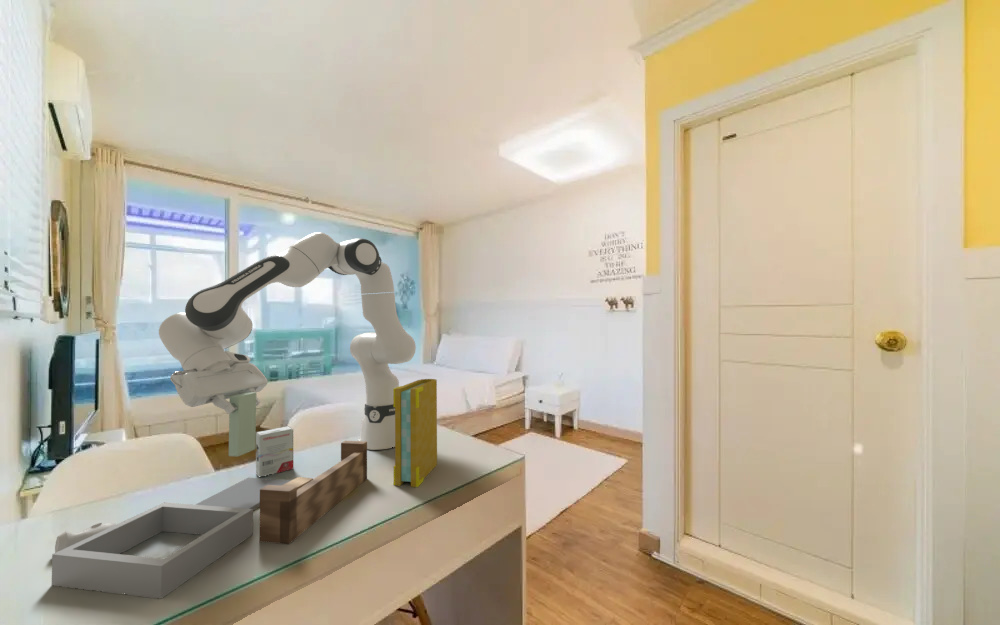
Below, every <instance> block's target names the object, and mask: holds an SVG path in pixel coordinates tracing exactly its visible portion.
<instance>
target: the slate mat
mask: <svg viewBox="0 0 1000 625" xmlns="http://www.w3.org/2000/svg"><path fill="white" fill-rule="evenodd" d="M291 480H292V479H277V478H264V477H261V478H259V477H247V478H245V479H242V480H241V481H239V482H237V483H235V484H233V485H231V486H228V487H227V488H225V489H223V490H221V491H219V492H218V493H214V494H213V495H211V496H210V497H209V496H208V497H207V498H205V499H203V500H202V501H200V502H198V503H195V504H194V505H206V506H219V507H233V508H246V509H253V511H255V510H257V509H258V508H260V489H261V488H263V487H265V486H267V485H279V486H282V485H284V484H286V483H288V482H290V481H291ZM256 508H257V509H256Z"/></svg>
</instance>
